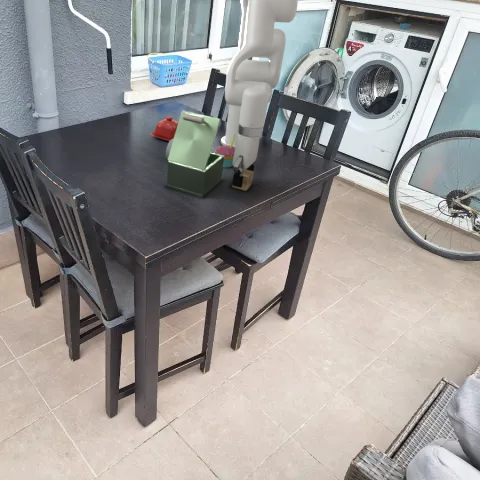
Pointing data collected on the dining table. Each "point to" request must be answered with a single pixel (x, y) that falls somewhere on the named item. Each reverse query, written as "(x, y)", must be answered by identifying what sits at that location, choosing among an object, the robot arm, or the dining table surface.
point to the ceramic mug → (169, 148)
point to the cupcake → (227, 153)
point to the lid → (193, 140)
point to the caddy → (195, 176)
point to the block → (246, 179)
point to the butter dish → (165, 129)
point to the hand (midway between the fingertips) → (242, 180)
